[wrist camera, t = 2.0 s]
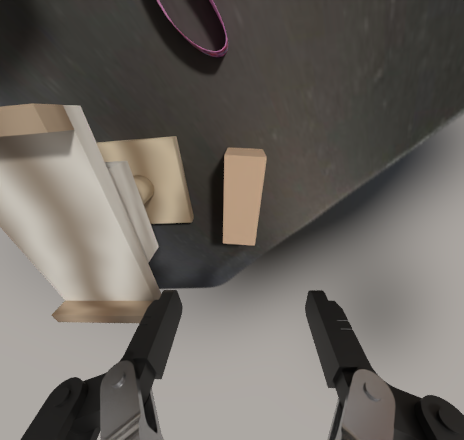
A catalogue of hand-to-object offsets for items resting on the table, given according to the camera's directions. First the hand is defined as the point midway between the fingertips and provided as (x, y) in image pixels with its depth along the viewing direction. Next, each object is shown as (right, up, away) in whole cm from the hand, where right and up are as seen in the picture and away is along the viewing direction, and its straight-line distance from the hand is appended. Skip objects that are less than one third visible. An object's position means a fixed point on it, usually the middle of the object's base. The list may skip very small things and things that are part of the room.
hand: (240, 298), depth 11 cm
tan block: (+1, +9, +15) cm, 18 cm away
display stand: (-13, +10, +15) cm, 23 cm away
